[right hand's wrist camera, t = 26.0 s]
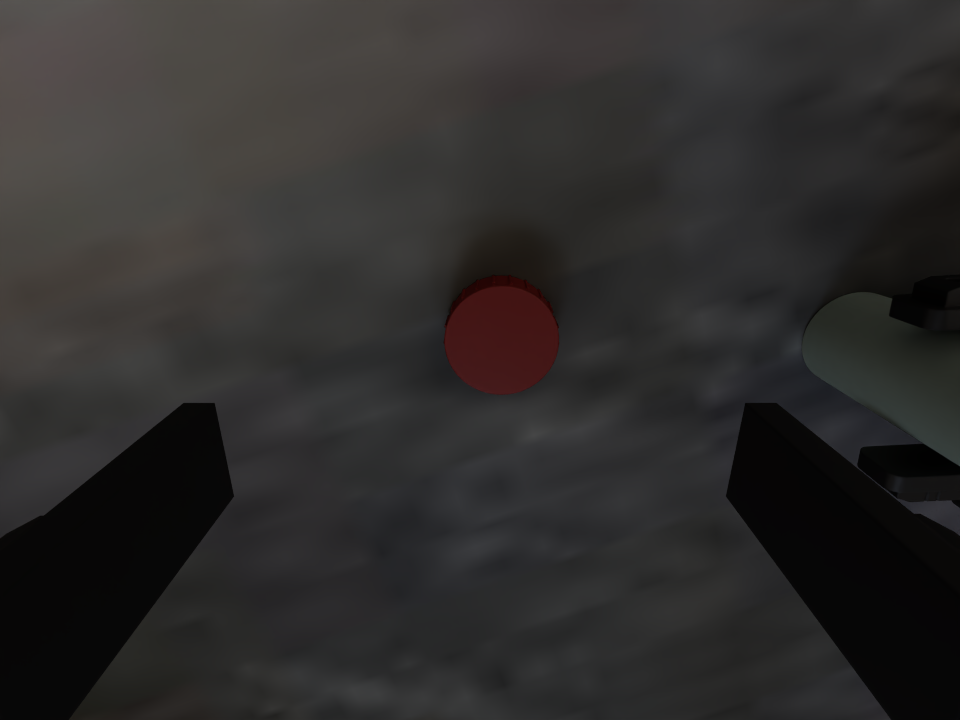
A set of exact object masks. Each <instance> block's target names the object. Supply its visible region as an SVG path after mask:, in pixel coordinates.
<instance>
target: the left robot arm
mask: <svg viewBox="0 0 960 720" xmlns="http://www.w3.org/2000/svg"><path fill="white" fill-rule="evenodd" d="M889 316H890V317H892V318H895V319H897V320H900V321H903V322H906V323H908V324H911V325H914V326H917V327H919V328H923V329H928V330H936V331H950V330H960V275H950V276H931V277H928V278H926V279H924V280H921V281H919V282H916V283H915V284H914V288H913V293H912V294H904V295H895V296H893V298H892V302H891V307H890V312H889ZM857 466H858V467H859V468H860V469H861V470H862V471H863V472H865V473H866V474H867V475H868V476H870V477H871V478H872V479H873V480H875V481H876V482H877V483H878V484H880V485H881V486H882V487H884V488H885V489H886V490H888V491H889V492H890V493H891V494H893V495H894V496H895V497H896V498H898V499H902V500H905V501H908V502H920V501H936V500H938V501H943V500H952V502H953V503H954V504H955V505H957V506H958V507H959V508H960V466H959V465H957V464H955V463H954V462H952V461H951V460H949V459H947V458H946V457H944V456H943V455H941V454H939V453H938V452H936V451H935V450H933V449H932V448H930V447H928V446H927V445H925V444H911V445H890V446H870V447H863V448H861V450H860V454H859V459H858V464H857Z"/></svg>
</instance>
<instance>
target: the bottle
mask: <svg viewBox="0 0 960 720" xmlns="http://www.w3.org/2000/svg"><path fill="white" fill-rule="evenodd" d="M891 302H892V298H888V297H885V296H882V295H879V294H875V293H871V292H856V293H851V294H847V295H844V296H841V297H839V298H837V299H835V300H833V301H831V302H830V303H828V304H827V305H825V306H824V307H823V308H822V309H820V310H819V311H818V312H817V313H816V315H815V316H814V317H813V318H812V320H811V321H810V323H809V324H808V326H807V328H806V330H805V333H804V336H803V341H802V355H803V358H804V361H805V363H806V366H807V367H808V368H809V370H810V371H811V372H812V373H813V374H814V375H816V376H817V377H819V378H820V379H822V380H823V381H825V382H827V383H828V384H830V385H831V386H833V387H834V388H836V389H838V390H839V391H841V392H842V393H844V394H846V395H847V396H849V397H850V398H852V399H854V400H855V401H857V402H858V403H860V404H862V405H863V406H865V407H866V408H868V409H869V410H871V411H873V412H874V413H876V414H877V415H879V416H881V417H882V418H884V419H885V420H887V421H889V422H890V423H892V424H893V425H895V426H897V427H898V428H900V429H901V430H903V431H904V432H906V433H908V434H909V435H911V436H912V437H914V438H916V439H917V440H919V441H920V442H922V443H924V444H925V445H927V446H928V447H930V448H932V449H933V450H935V451H936V452H938V453H939V454H941V455H943V456H944V457H946V458H947V459H949V460H951V461H952V462H954V463H955V464H957V465H959V466H960V330H950V331H936V330H928V329H923V328H919V327H917V326H914V325H911V324H908V323H906V322H903V321H900V320H897V319H895V318H892V317H890V316H889V312H890V307H891Z"/></svg>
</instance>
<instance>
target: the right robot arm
mask: <svg viewBox="0 0 960 720" xmlns="http://www.w3.org/2000/svg"><path fill="white" fill-rule="evenodd" d="M233 497H234V494H233V489H232V484H231V480H230V475H229V470H228V465H227V460H226V456H225V451H224V446H223V441H222V436H221V431H220V427H219V422H218V417H217V412H216V407H215V403H183V404H182V405H181V406H179V407H178V408H177V409H176V410H174V411H173V412H172V413H171V414H169V415H168V416H167V417H166V418H164V419H163V420H162V421H161V422H160V423H158V424H157V425H156V426H155V427H153V428H152V429H151V430H150V431H148V432H147V433H146V434H145V435H143V436H142V437H141V438H140V439H138V440H137V441H136V442H135V443H133V444H132V445H131V446H130V447H128V448H127V449H126V450H125V451H124V452H122V453H121V454H120V455H119V456H117V457H116V458H115V459H114V460H112V461H111V462H110V463H109V464H107V465H106V466H105V467H104V468H102V469H101V470H100V471H99V472H97V473H96V474H95V475H94V476H93V477H91V478H90V479H89V480H88V481H86V482H85V483H84V484H83V485H81V486H80V487H79V488H78V489H76V490H75V491H74V492H73V493H71V494H70V495H69V496H68V497H66V498H65V499H64V500H63V501H62V502H60V503H59V504H58V505H57V506H55V507H54V508H53V509H52V510H50V511H49V512H48V513H47V514H45V515H44V516H39V517H37V518H35V519H33V520H31V521H30V522H28V523H26V524H24V525H22V526H20V527H18V528H16V529H15V530H13V531H11V532H9V533H7V534H5V535H4V536H3V537H2V538H0V720H69V719H70V717H71V716H72V714H73V713H74V712H75V710H76V709H77V708H78V706H79V705H80V704H81V702H82V701H83V700H84V698H85V697H86V696H87V694H88V693H89V692H90V690H91V689H92V687H93V686H94V685H95V683H96V682H97V681H98V679H99V678H100V677H101V675H102V674H103V673H104V671H105V670H106V669H107V667H108V666H109V664H110V663H111V662H112V660H113V659H114V658H115V656H116V655H117V654H118V652H119V651H120V650H121V648H122V647H123V646H124V644H125V643H126V642H127V640H128V639H129V637H130V636H131V635H132V633H133V632H134V631H135V629H136V628H137V627H138V625H139V624H140V623H141V621H142V620H143V619H144V617H145V616H146V615H147V613H148V612H149V610H150V609H151V608H152V606H153V605H154V604H155V602H156V601H157V600H158V598H159V597H160V596H161V594H162V593H163V592H164V590H165V589H166V588H167V586H168V585H169V583H170V582H171V581H172V579H173V578H174V577H175V575H176V574H177V573H178V571H179V570H180V569H181V567H182V566H183V565H184V563H185V562H186V560H187V559H188V558H189V556H190V555H191V554H192V552H193V551H194V550H195V548H196V547H197V546H198V544H199V543H200V542H201V540H202V539H203V538H204V536H205V535H206V533H207V532H208V531H209V529H210V528H211V527H212V525H213V524H214V523H215V521H216V520H217V519H218V517H219V516H220V515H221V513H222V512H223V511H224V509H225V508H226V506H227V505H228V504H229V502H230V501H231V500H232V498H233ZM726 497H727V498H728V500H729V501H730V502H731V504H732V505H733V506H734V508H735V509H736V511H737V512H738V513H739V515H740V516H741V517H742V519H743V520H744V521H745V523H746V524H747V525H748V527H749V528H750V529H751V531H752V532H753V533H754V535H755V536H756V538H757V539H758V540H759V542H760V543H761V544H762V546H763V547H764V548H765V550H766V551H767V552H768V554H769V555H770V556H771V558H772V559H773V560H774V562H775V563H776V565H777V566H778V567H779V569H780V570H781V571H782V573H783V574H784V575H785V577H786V578H787V579H788V581H789V582H790V583H791V585H792V586H793V588H794V589H795V590H796V592H797V593H798V594H799V596H800V597H801V598H802V600H803V601H804V602H805V604H806V605H807V606H808V608H809V609H810V610H811V612H812V613H813V615H814V616H815V617H816V619H817V620H818V621H819V623H820V624H821V625H822V627H823V628H824V629H825V631H826V632H827V633H828V635H829V636H830V637H831V639H832V640H833V642H834V643H835V644H836V646H837V647H838V648H839V650H840V651H841V652H842V654H843V655H844V656H845V658H846V659H847V660H848V662H849V663H850V665H851V666H852V667H853V669H854V670H855V671H856V673H857V674H858V675H859V677H860V678H861V679H862V681H863V682H864V683H865V685H866V686H867V687H868V689H869V690H870V692H871V693H872V694H873V696H874V697H875V698H876V700H877V701H878V702H879V704H880V705H881V706H882V708H883V709H884V710H885V712H886V713H887V714H888V716H889V717H890V719H891V720H960V536H959V535H958V534H956V533H955V532H953V531H952V530H950V529H948V528H946V527H944V526H942V525H940V524H938V523H936V522H935V521H933V520H931V519H929V518H927V517H925V516H923V515H921V514H913V513H912V512H911V511H910V510H908V509H907V508H906V507H905V506H903V505H902V504H901V503H900V502H898V501H897V500H896V499H895V498H894V497H892V496H891V495H890V494H889V493H887V492H886V491H885V490H884V489H882V488H881V487H880V486H879V485H877V484H876V483H875V482H874V481H872V480H871V479H870V478H869V477H867V476H866V475H865V474H864V473H863V472H861V471H860V470H859V469H858V468H856V467H855V466H854V465H853V464H851V463H850V462H849V461H848V460H846V459H845V458H844V457H843V456H841V455H840V454H839V453H838V452H836V451H835V450H834V449H833V448H831V447H830V446H829V445H828V444H827V443H825V442H824V441H823V440H822V439H820V438H819V437H818V436H817V435H815V434H814V433H813V432H812V431H810V430H809V429H808V428H807V427H805V426H804V425H803V424H802V423H800V422H799V421H798V420H797V419H796V418H794V417H793V416H792V415H791V414H789V413H788V412H787V411H786V410H784V409H783V408H782V407H781V406H779V405H778V404H777V403H745V407H744V412H743V417H742V422H741V427H740V431H739V436H738V441H737V446H736V451H735V456H734V460H733V465H732V470H731V475H730V480H729V484H728V489H727V494H726Z"/></svg>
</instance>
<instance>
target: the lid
mask: <svg viewBox="0 0 960 720" xmlns="http://www.w3.org/2000/svg"><path fill="white" fill-rule="evenodd" d="M450 312H451V313H450V316H449V315H448V317H447V320H446V323H445V328H446V330H445V339H444V344H445V351H446V355H447V358H448V361H449V363H450V365H451V367H452V368H453V370H454V371H455V373H456V374H457V375H458V376H459V377H460V378H461V379H462V380H463V381H464V382H465V383H467V384H468V385H470V386H471V387H473V388H475V389H477V390H479V391H483V392H486V393H490V394H499V395H503V394H512V393H517V392H520V391H523V390H525V389H528V388H529V387H531V386H533V385H535V384H536V383H537V382H538V381H540V380H541V379H542V378H543V377H544V376H545V375H546V374H547V372H548V371H549V370H550V368H551V366H552V365H553V363H554V361H555V358H556V355H557V352H558V346H559V333H558V328H559V326H558V324H557V322H556V319H555V317H554V316H553V314H552V313H553V310H552V307H551V305H550V303H549V301H548V302H547V301H546V300H545V298H544V296H543V295H542V294H541V291H540V290H539V289H538V290H537V289H536V288H535V287H534V286H532V285H531V284H529V283H528V282H527V280H521V279H518V278H515V277H511V275H509V276H494V275H492V277H487V278H484V279H481V280H476V282H475V283H473V284H472V285H470V286H469V287H467V288H466V289H465V288H464V289H463V291H462V293H461V294H460V295H459V297H458V298H457V300H456V301H453V304H452V307H451V310H450Z"/></svg>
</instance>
